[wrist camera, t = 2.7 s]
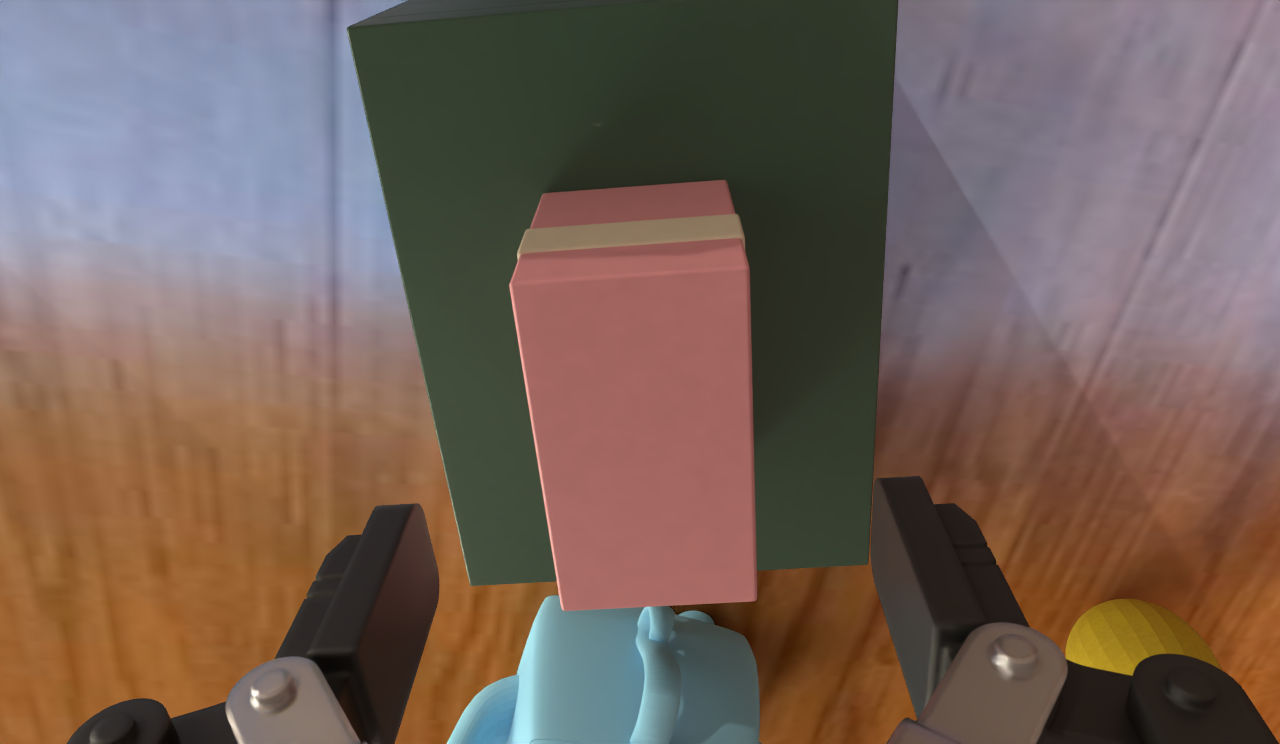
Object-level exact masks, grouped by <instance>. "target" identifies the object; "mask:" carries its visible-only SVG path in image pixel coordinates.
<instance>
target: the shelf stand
mask: <svg viewBox="0 0 1280 744" xmlns="http://www.w3.org/2000/svg"><path fill="white" fill-rule="evenodd" d="M897 16H898V0H408V1H406V2H404V3H401V4H399V5H397V6H395V7H392V8H390V9H388V10H385V11H383V12H381V13H378V14H376V15H374V16H371V17H369V18H367V19H365V20H363V21H360V22H358V23H356V24H353V25H351V26H349V27H347V33H348V38H349V42H350V47H351V51H352V56H353V60H354V65H355V69H356V74H357V78H358V83H359V87H360V92H361V96H362V101H363V105H364V110H365V114H366V119H367V123H368V128H369V132H370V137H371V141H372V146H373V150H374V155H375V159H376V164H377V168H378V173H379V177H380V182H381V186H382V191H383V195H384V200H385V204H386V209H387V213H388V218H389V222H390V227H391V231H392V236H393V240H394V245H395V249H396V254H397V258H398V263H399V267H400V272H401V276H402V281H403V285H404V290H405V294H406V299H407V303H408V308H409V312H410V317H411V321H412V326H413V330H414V335H415V339H416V344H417V348H418V353H419V357H420V362H421V366H422V371H423V375H424V380H425V384H426V389H427V394H428V398H429V403H430V407H431V412H432V416H433V421H434V425H435V430H436V434H437V439H438V443H439V448H440V452H441V457H442V461H443V466H444V470H445V475H446V479H447V484H448V488H449V493H450V497H451V502H452V506H453V511H454V515H455V520H456V524H457V529H458V533H459V538H460V542H461V547H462V551H463V556H464V560H465V565H466V569H467V574H468V578H469V583H470V585H471V586H477V585H496V584H515V583H533V582H552V581H557V579H556V572H555V566H554V560H553V554H552V548H551V541H550V535H549V529H548V523H547V517H546V511H545V504H544V498H543V492H542V486H541V480H540V473H539V467H538V461H537V455H536V449H535V442H534V436H533V430H532V424H531V418H530V411H529V405H528V399H527V393H526V387H525V380H524V374H523V368H522V362H521V356H520V349H519V343H518V337H517V331H516V325H515V318H514V312H513V306H512V300H511V294H510V287H509V285H510V281H511V279H512V276H513V273H514V270H515V268H516V265H517V262H518V257H517V252H518V249H519V246H520V244H521V241H522V238H523V236H524V233H525V231H526V230H527V229H530V227H531V224H532V221H533V219H534V216H535V213H536V211H537V208H538V205H539V202H540V200H541V197H542V194H544V193H553V192H567V191H580V190H593V189H607V188H620V187H633V186H647V185H660V184H673V183H687V182H700V181H714V180H726V181H727V183H728V187H729V191H730V195H731V199H732V203H733V206H734V210H735V214H738V215H739V218H740V221H741V225H742V229H743V232H744V236H745V253H746V256H747V260H748V264H749V268H750V303H751V346H752V389H753V432H754V475H755V518H756V561H757V571H758V570H777V569H795V568H814V567H833V566H851V565H867V564H868V562H869V544H870V525H871V506H872V488H873V469H874V450H875V431H876V412H877V393H878V374H879V356H880V337H881V318H882V299H883V280H884V261H885V243H886V224H887V205H888V186H889V167H890V148H891V129H892V111H893V92H894V73H895V54H896V35H897Z"/></svg>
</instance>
